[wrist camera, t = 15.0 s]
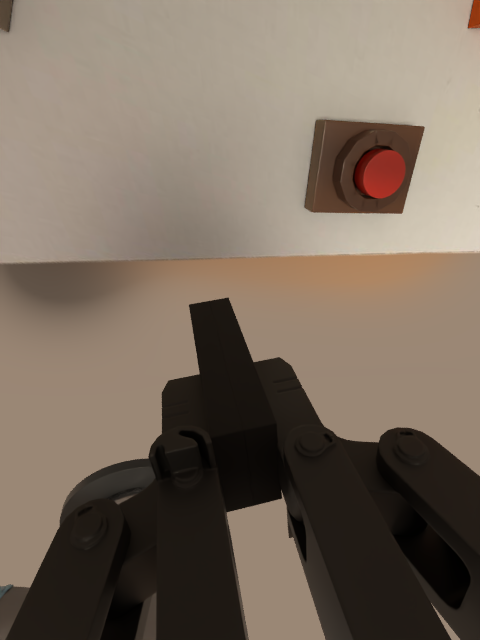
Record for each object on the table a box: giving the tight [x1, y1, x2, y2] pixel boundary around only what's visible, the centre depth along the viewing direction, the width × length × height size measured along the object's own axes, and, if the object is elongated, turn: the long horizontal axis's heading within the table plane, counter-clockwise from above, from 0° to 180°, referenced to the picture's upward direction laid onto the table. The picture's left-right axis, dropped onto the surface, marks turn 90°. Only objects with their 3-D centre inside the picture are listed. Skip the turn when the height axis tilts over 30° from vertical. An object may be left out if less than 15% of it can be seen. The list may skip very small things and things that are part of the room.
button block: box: [305, 120, 425, 214], centre depth 35 cm, size 8×10×4 cm
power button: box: [355, 149, 406, 198], centre depth 33 cm, size 4×4×2 cm
